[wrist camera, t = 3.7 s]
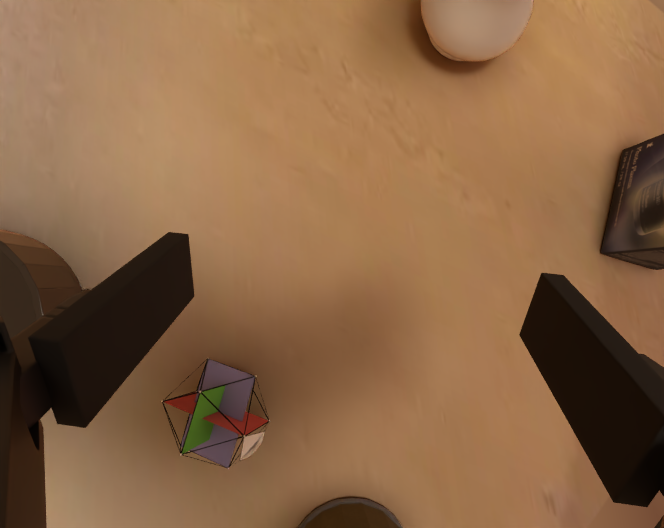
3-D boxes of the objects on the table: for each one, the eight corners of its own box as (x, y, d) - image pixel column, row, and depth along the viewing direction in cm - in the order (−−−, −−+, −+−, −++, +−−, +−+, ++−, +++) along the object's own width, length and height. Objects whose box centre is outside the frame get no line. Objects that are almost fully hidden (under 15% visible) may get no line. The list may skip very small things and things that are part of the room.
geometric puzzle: (136, 435, 28) (175, 497, 23) (165, 345, 29) (210, 383, 23) (222, 431, 33) (273, 482, 27) (245, 354, 34) (300, 387, 28)
